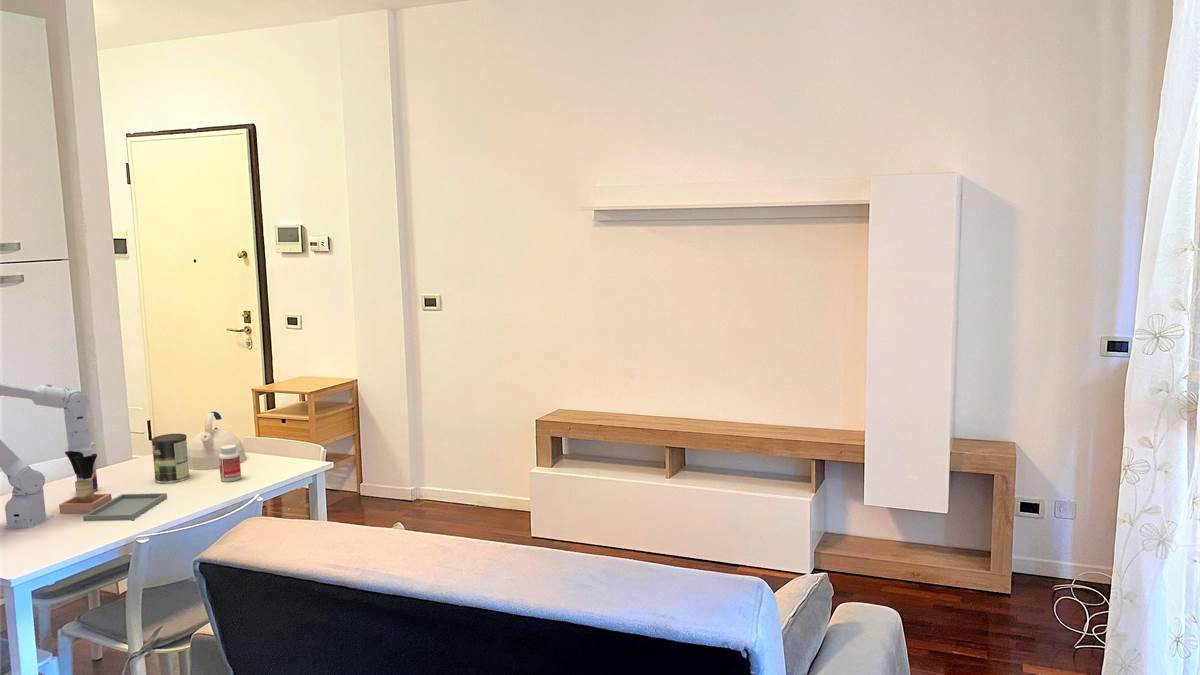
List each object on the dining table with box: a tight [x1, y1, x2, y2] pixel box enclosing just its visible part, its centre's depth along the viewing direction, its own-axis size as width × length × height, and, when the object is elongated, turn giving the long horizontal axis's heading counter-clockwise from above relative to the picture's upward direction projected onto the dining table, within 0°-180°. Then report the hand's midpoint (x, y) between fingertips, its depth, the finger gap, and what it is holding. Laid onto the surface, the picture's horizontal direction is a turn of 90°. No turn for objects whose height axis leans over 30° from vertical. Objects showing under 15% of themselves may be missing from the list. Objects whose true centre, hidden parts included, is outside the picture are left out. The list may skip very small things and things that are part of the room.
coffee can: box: [151, 433, 190, 484], centre depth 275 cm, size 10×10×14 cm
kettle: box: [187, 411, 247, 471], centre depth 295 cm, size 20×21×18 cm
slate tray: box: [82, 492, 168, 522], centre depth 245 cm, size 20×14×2 cm
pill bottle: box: [219, 445, 242, 483], centre depth 274 cm, size 6×6×11 cm
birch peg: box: [74, 479, 95, 503], centre depth 247 cm, size 4×4×8 cm
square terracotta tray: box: [58, 493, 113, 514], centre depth 247 cm, size 10×10×3 cm
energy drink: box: [75, 452, 99, 493], centre depth 262 cm, size 5×5×12 cm
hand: (83, 475), depth 246 cm, fingers open, 7 cm apart
